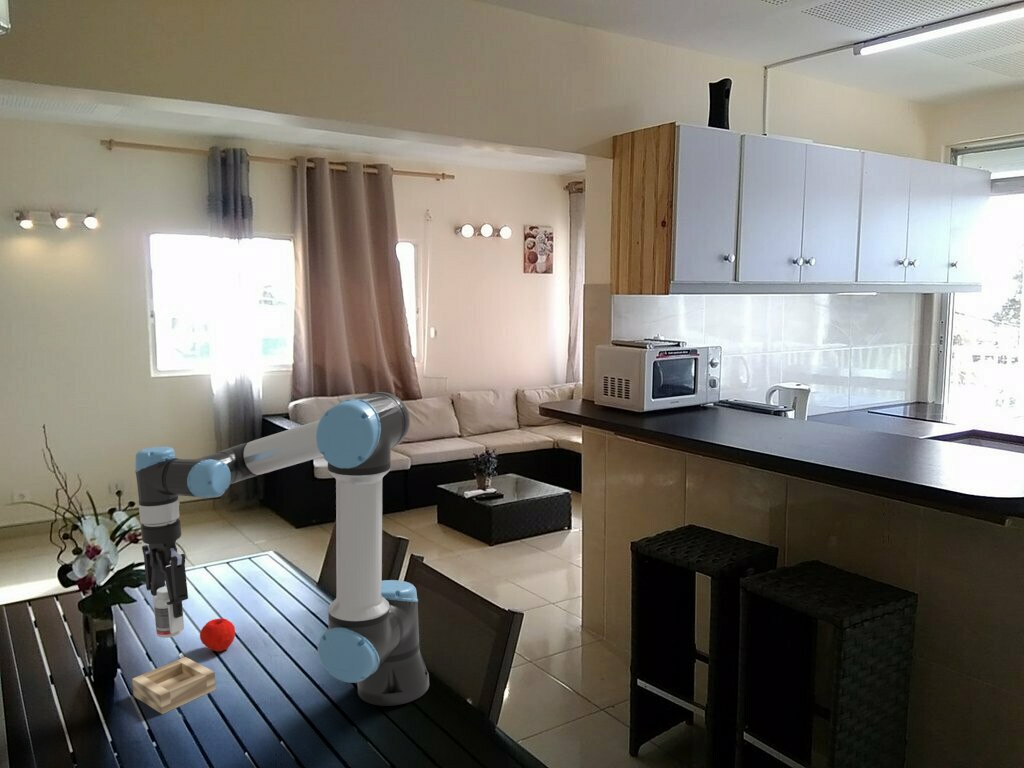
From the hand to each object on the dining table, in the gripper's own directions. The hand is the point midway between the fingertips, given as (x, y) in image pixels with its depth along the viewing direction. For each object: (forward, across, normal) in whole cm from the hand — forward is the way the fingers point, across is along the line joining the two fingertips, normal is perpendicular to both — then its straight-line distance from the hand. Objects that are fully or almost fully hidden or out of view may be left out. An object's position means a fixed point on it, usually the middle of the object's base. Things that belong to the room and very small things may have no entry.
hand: (169, 627), depth 166 cm
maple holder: (+15, 0, 0) cm, 15 cm away
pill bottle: (+2, 0, 0) cm, 2 cm away
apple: (+15, +11, -17) cm, 25 cm away
